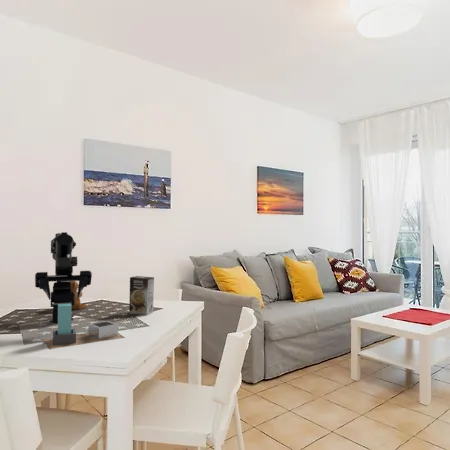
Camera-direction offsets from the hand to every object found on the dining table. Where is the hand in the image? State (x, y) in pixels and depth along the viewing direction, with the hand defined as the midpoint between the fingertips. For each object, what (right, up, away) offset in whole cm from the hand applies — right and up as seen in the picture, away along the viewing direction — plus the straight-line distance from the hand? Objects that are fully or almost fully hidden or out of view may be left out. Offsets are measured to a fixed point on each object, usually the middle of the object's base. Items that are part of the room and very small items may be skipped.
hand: (64, 297), depth 137 cm
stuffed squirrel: (-16, -14, +45) cm, 50 cm away
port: (+14, -13, 0) cm, 19 cm away
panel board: (+8, -14, -4) cm, 17 cm away
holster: (+3, -13, -7) cm, 15 cm away
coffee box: (+19, -14, +39) cm, 45 cm away
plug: (+3, -13, -7) cm, 15 cm away
